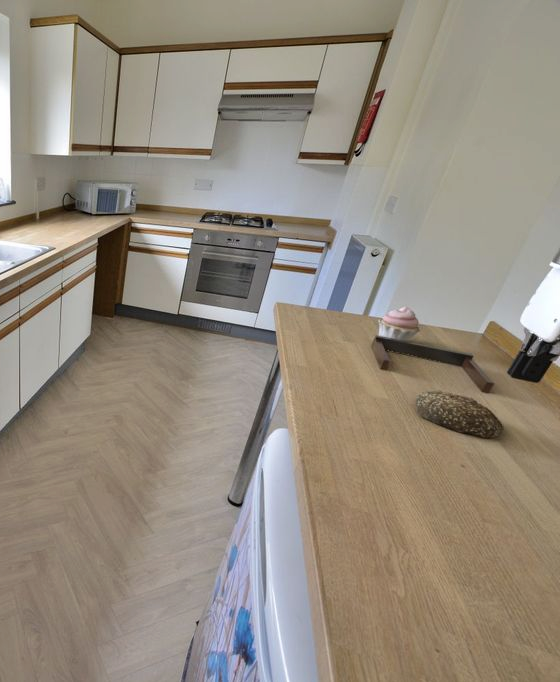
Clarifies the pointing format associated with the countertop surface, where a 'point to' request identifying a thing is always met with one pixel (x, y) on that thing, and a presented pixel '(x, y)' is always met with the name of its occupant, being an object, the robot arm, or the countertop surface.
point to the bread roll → (458, 414)
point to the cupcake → (399, 324)
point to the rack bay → (431, 353)
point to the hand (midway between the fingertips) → (521, 378)
